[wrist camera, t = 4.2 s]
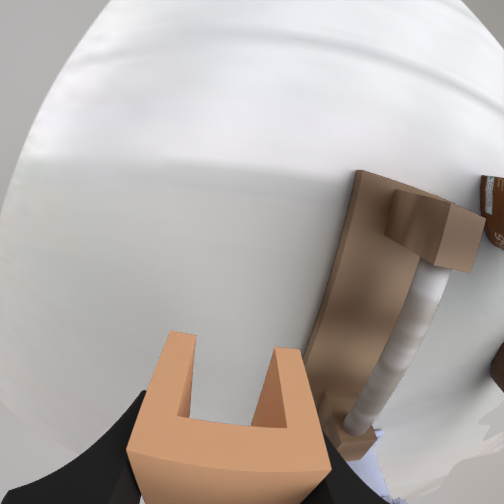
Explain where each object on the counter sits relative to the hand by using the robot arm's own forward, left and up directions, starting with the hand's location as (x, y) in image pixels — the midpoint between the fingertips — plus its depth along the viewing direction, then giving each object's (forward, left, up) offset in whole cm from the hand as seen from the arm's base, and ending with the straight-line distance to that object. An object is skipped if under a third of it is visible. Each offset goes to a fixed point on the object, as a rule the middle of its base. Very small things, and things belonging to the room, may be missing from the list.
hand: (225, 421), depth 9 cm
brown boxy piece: (0, -10, -10) cm, 14 cm away
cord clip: (0, 0, -2) cm, 2 cm away
